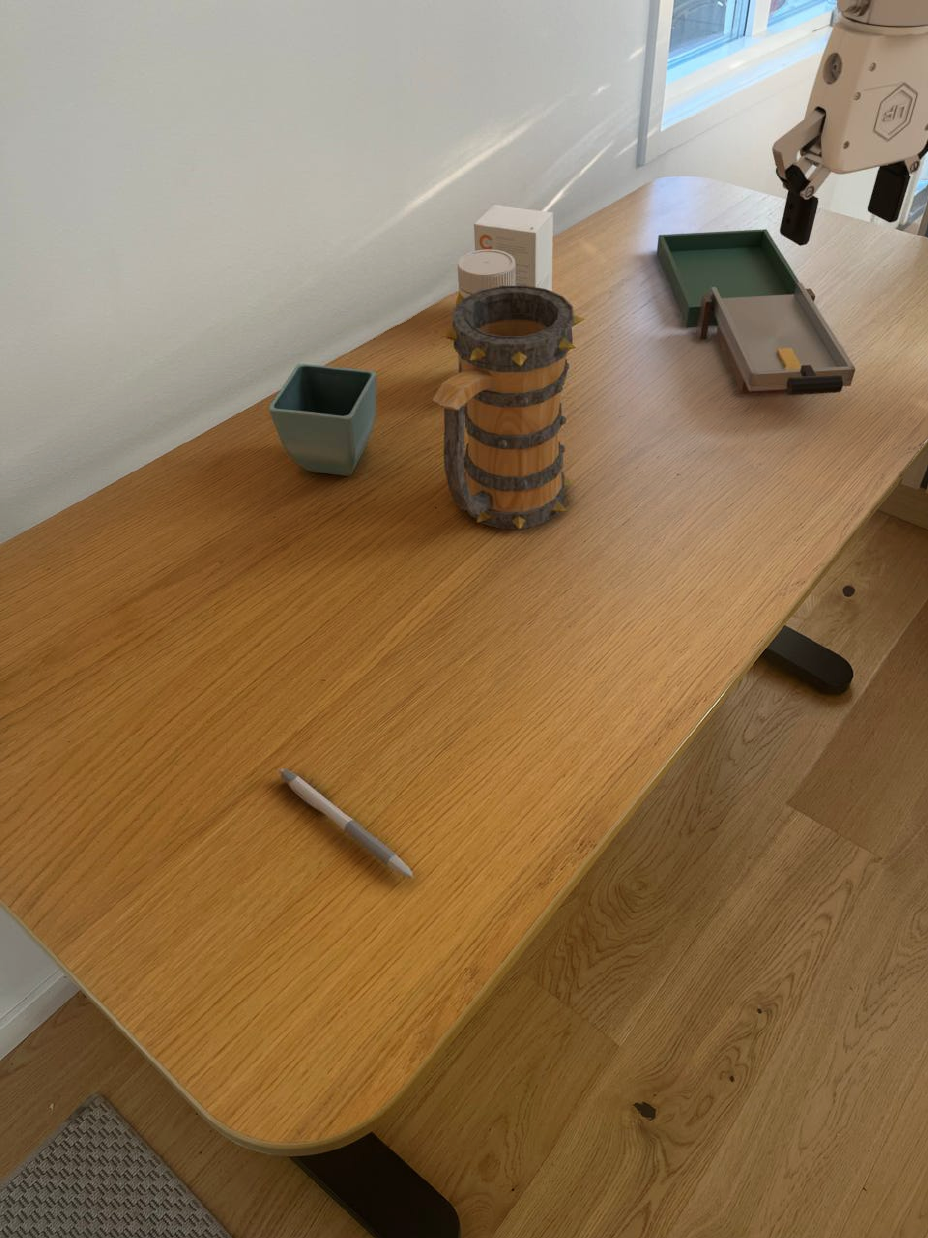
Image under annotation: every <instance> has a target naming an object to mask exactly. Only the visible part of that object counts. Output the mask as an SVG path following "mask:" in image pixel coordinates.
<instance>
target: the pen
mask: <svg viewBox="0 0 928 1238" xmlns="http://www.w3.org/2000/svg"><path fill="white" fill-rule="evenodd" d="M278 772H279V774H280V777H281V778H282V779H283V781H284V782H285V783H286V784H287V785H288V786H289V788H290V789H291V790H292V791H293V793H294V794H296V795H297V796H298V797H300V798H301V800H303V801H304V802H306V803H307V804H308V805H309V806H311V807H312V808H314V809H316V810H317V811H319V812H321V813H322V814H324V815H325V816H326V817H327V818H329V819H330V820H331V821H333V823H335V824H336V825H337V826H338V827H340V829H342V830H343V831H344V832H345V833H346V834H347V835H349V836H350V837H351V838H352V839H353V840H355V841H356V842H357V843H358V844H359V845H361V846H362V847H363V848H364V849H366V851H368V852H369V853H370V854H371V855H373V856H374V857H376V858H377V859H378V860H379V861H380V862H382V863H383V864H384V865H385V866H386V867H388V868H390V869H391V870H392V871H394V872H395V873H397V874H399V875H401V876H402V877H405V878H409V879H414V874H413V872H412V870H411V869H410V867H409V866H408V865H407V864H406V863H405V862H404V861H403V860H402V859H401V857H399V856H398V855H397V854H396V853H395V852H394V851H392V850H391V849H390V848H389V847H388V846H386V845H385V844H384V843H383V842H382V841H380V840H379V839H378V838H376V837H375V836H374V835H373V834H371V832H369V831H368V830H366V829H365V828H364V827H363V826H362V825H360V824H359V823H358V822H357V821H355V820H354V819H353V818H351V817H350V816H348V815H347V814H346V813H344V812H343V811H342V810H341V809H340V808H338V807H337V806H336V805H335V804H333V803H332V802H331V801H330V800H329V799H327V798H326V797H325V796H323V795H322V794H321V793H320V792H319V791H318V790H316V789H314V788H313V786H311V785H310V784H309V783H308V782H306V781H305V780H304V779H302V777H300V776H298V774H297V773H295V772H294V771H291V770H290V769H284V768H283V767H281V768H280V769H279V771H278Z"/></svg>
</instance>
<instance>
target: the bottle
mask: <svg viewBox="0 0 928 1238" xmlns="http://www.w3.org/2000/svg"><path fill="white" fill-rule="evenodd" d="M457 281H458V295H457V297H456V301H455V307H456V306H457V305H458V304H459V303H460V302H461V301H462V300H463V298H465V297H467V296H470V295H472V294H474V293H476V292H478V291H480V290H484V289H489V288H494V287H498V286H515V259H514V258H513V256H512V255H510V254H508V253H506V252H503V251H499V250H490V249H487V250H477V251H475V250H473V251H470V252H467V253H465V254H463V255H461V257H460V258H459V259H458V261H457ZM457 359H458V360H457V361H458V365H459V364H460V356H459V354H458V353H457Z"/></svg>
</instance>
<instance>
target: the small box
mask: <svg viewBox="0 0 928 1238" xmlns="http://www.w3.org/2000/svg"><path fill="white" fill-rule="evenodd" d="M553 232H554V212H552V211H544V210H538V209H537V210H536V209H530V208H520V207H513V206H505V205H499V204H492V205H491V206H490V208H489V209H488V210H486V212H484V214H483V215H481V217H479V218H478V220H476V221H475V222H474V223H473V234H474V251H477V250H487V249H490V250H499V251H503V252H506V253H508V254H510V255H512V256H513V258H514V259H515V285H526V286H531V287H537V288H543V289H547V290H549V291H552V288H553V286H552V284H553V238H554V237H553V234H554V233H553Z"/></svg>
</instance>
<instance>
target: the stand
mask: <svg viewBox="0 0 928 1238" xmlns="http://www.w3.org/2000/svg"><path fill="white" fill-rule="evenodd" d="M805 289H806V290H807V292H808V294H809V295H810V297H811V298H812V300H813V302H814V303H815V300H816V295H815V293H814V292H813V290H812V288H805ZM711 306H712V300H711V298H710V296H709V294H702V300H701V307H700V313H699V320H698V326H696V334H697V337H698V338H699V340H707V337H708V330H709V326H708V325H709V319H710V313H711ZM715 338H716V340H717V342H718V345H719V347H720V349H721V351H722V353H723V355H724V358H725V360H726V362H727V364H728V367H729V370H730V372H731V373H732V376H733V378H734V380H735V383H736V385H737V387H738V389H739V391H740V394H758V393H759V394H760V393H779V392H781V393H782V392H787V389H783V390H764V391H749V390H748V388H747V386H746V383H745V381H744V379H743V377H742V375H741V372H740V370H739V368H738V366H737V364H736V362H735V359H734V357H733V355H732V353H731V351H730V348H729V346H728V344H727V342H726V340H725V338H724V335H723V333H722V331H721V329H720V327H719V325H717V328H716V335H715Z"/></svg>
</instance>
